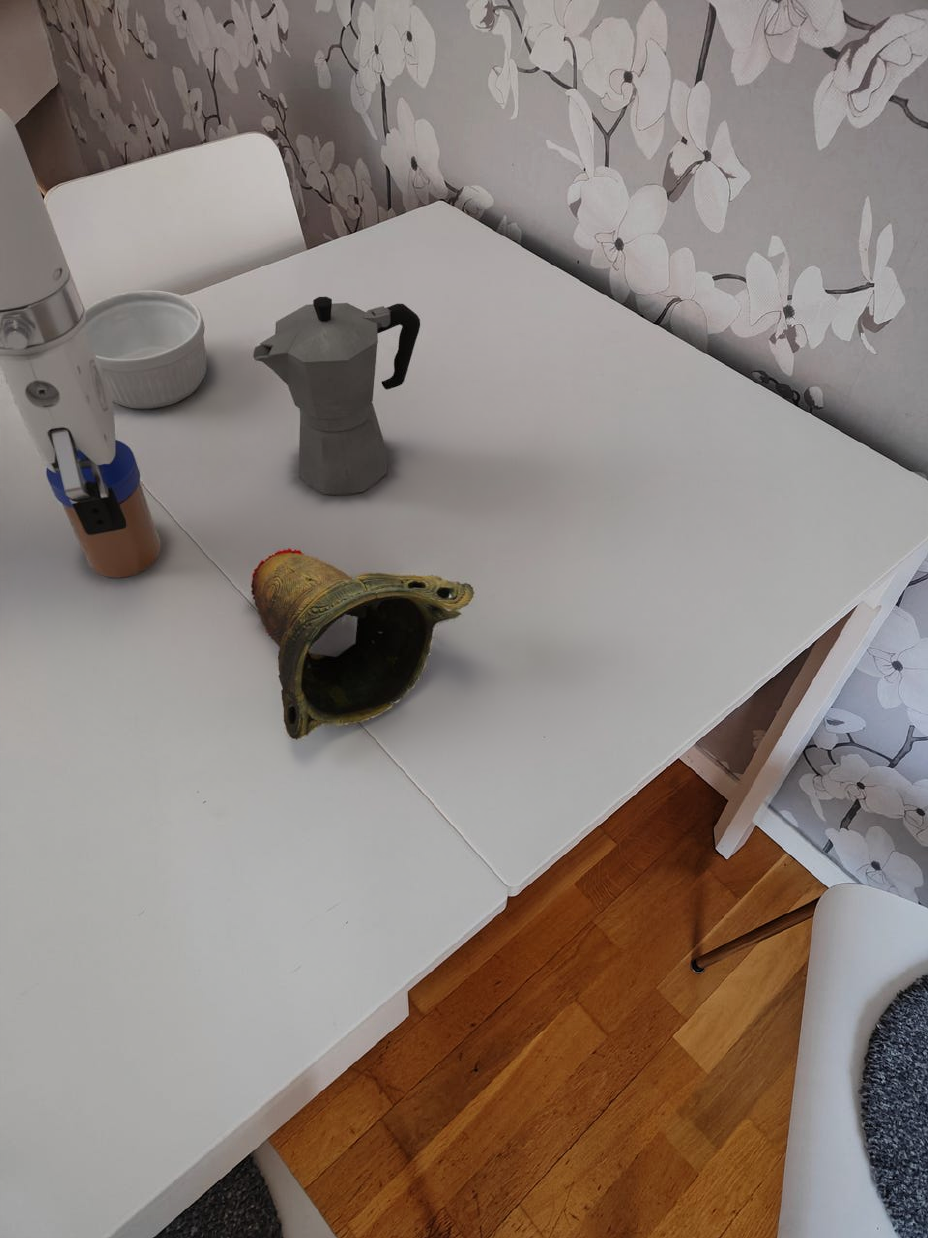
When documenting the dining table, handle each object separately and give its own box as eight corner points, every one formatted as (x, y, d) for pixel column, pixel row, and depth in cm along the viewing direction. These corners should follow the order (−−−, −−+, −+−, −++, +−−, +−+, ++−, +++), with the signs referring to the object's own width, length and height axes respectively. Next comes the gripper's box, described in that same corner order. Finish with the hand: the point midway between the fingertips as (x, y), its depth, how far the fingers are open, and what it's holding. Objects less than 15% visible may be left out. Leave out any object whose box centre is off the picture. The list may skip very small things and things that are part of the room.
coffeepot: (297, 516, 81) (265, 348, 68) (263, 457, 87) (227, 291, 73) (444, 466, 86) (442, 300, 72) (403, 414, 91) (394, 249, 77)
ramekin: (239, 363, 97) (227, 306, 91) (166, 431, 89) (148, 373, 84) (143, 334, 100) (125, 278, 95) (65, 397, 93) (41, 340, 87)
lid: (142, 503, 70) (136, 486, 69) (53, 517, 69) (45, 500, 68) (138, 449, 75) (132, 431, 73) (54, 462, 73) (46, 444, 72)
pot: (329, 464, 73) (444, 537, 59) (395, 553, 80) (510, 635, 67) (171, 605, 70) (255, 713, 57) (255, 683, 77) (346, 795, 64)
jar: (82, 580, 76) (44, 499, 69) (92, 528, 80) (58, 446, 73) (157, 575, 77) (128, 494, 69) (164, 524, 81) (137, 442, 73)
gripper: (80, 369, 55) (157, 562, 69) (79, 238, 66) (146, 428, 79) (-47, 389, 54) (59, 581, 67) (-27, 252, 64) (61, 443, 78)
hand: (105, 497), depth 73 cm, fingers closed on lid, 6 cm apart
